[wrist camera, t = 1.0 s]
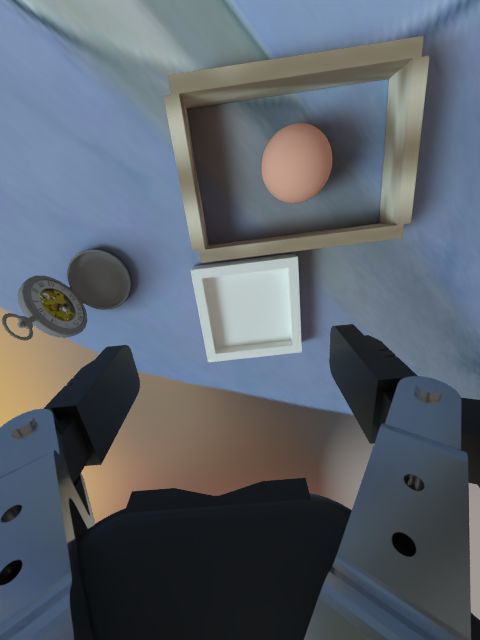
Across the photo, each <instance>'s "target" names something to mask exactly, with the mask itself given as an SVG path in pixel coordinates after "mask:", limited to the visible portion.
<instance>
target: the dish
mask: <svg viewBox="0 0 480 640" xmlns="http://www.w3.org/2000/svg"><path fill="white" fill-rule="evenodd" d="M191 276H192V281H193V286H194V291H195V296H196V301H197V307H198V312H199V317H200V322H201V327H202V332H203V338H204V343H205V348H206V353H207V358H208V362H216V361H225V360H234V359H243V358H253V357H262V356H271V355H280V354H289V353H298V352H302V345H301V321H300V296H299V271H298V256H296V255H295V254H286V255H278V256H270V257H262V258H254V259H246V260H238V261H230V262H222V263H214V264H206V265H198V266H193V268H192V269H191Z"/></svg>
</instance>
